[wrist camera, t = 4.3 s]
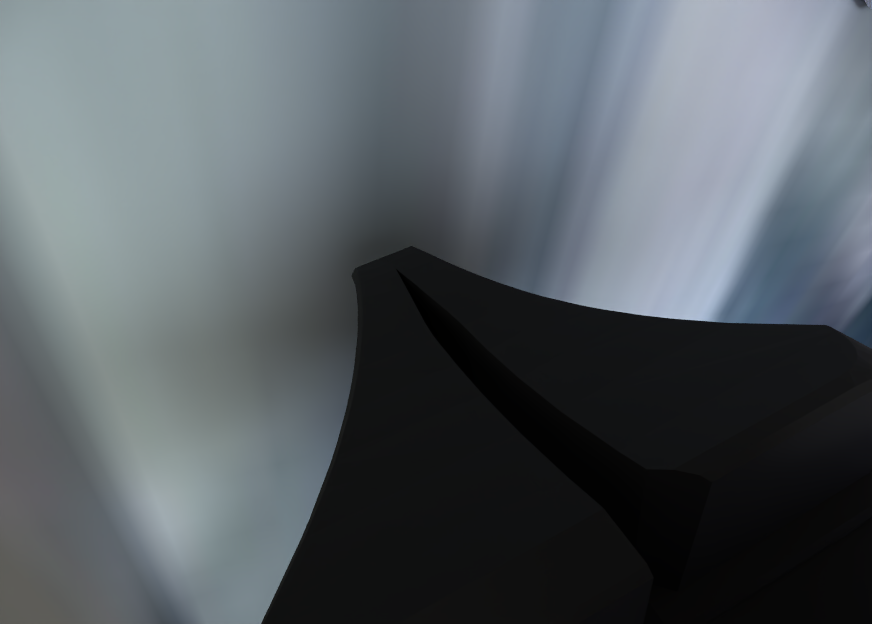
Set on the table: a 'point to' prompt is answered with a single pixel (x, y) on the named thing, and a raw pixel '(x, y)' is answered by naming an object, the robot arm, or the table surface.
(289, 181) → the table surface
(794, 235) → the table surface
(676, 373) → the robot arm
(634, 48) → the table surface
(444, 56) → the table surface
